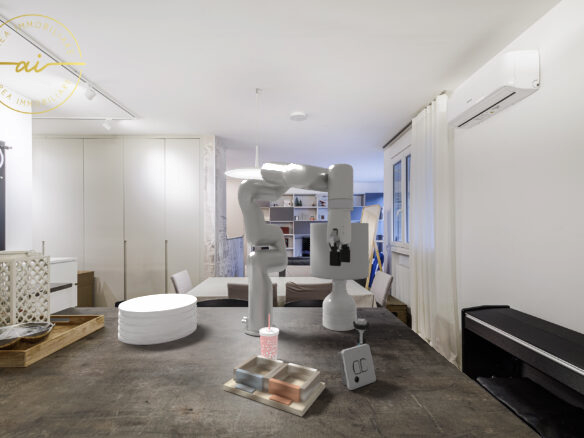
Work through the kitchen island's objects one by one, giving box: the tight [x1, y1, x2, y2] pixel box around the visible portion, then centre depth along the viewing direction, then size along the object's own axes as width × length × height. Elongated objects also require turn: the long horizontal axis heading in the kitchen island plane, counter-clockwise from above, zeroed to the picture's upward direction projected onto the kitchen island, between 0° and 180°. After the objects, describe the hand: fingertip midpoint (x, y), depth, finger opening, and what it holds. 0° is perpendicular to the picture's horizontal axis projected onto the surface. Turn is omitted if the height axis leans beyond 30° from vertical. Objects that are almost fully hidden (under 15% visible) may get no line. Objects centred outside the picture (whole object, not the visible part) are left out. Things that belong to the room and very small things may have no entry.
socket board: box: [222, 354, 326, 417], centre depth 74 cm, size 22×13×4 cm, turn 61°
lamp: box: [309, 222, 370, 332], centre depth 123 cm, size 24×24×42 cm
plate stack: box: [117, 293, 198, 346], centre depth 116 cm, size 28×28×12 cm
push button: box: [353, 317, 370, 346], centre depth 97 cm, size 7×5×10 cm
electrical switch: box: [336, 343, 377, 391], centre depth 78 cm, size 9×5×9 cm, turn 121°
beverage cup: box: [259, 314, 280, 360], centre depth 91 cm, size 6×6×14 cm
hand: (340, 263), depth 87 cm, fingers open, 9 cm apart
